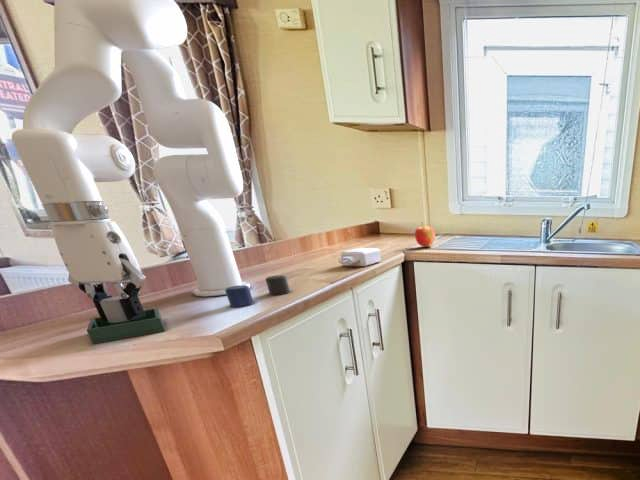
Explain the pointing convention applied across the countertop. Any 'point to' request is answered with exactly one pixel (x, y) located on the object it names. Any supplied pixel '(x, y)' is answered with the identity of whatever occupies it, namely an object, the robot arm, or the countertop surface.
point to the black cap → (277, 285)
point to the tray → (125, 327)
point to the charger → (360, 257)
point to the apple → (425, 236)
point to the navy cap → (239, 296)
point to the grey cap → (113, 310)
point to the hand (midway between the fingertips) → (124, 317)
